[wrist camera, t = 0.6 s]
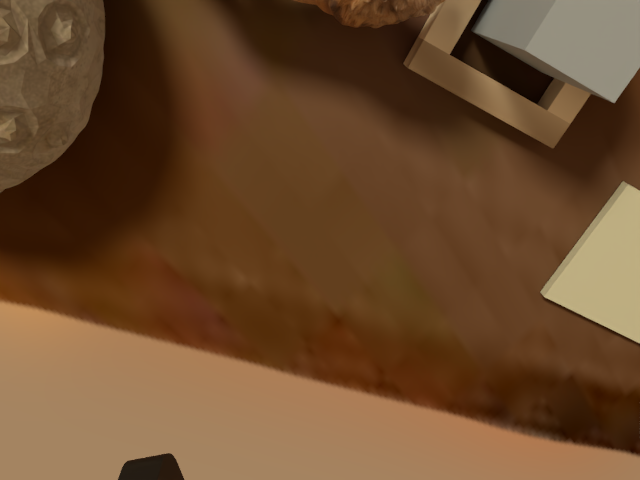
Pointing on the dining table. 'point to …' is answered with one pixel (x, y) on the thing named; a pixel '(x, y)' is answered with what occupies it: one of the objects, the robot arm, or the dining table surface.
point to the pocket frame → (489, 79)
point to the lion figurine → (374, 10)
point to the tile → (605, 267)
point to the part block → (569, 39)
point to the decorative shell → (46, 80)
